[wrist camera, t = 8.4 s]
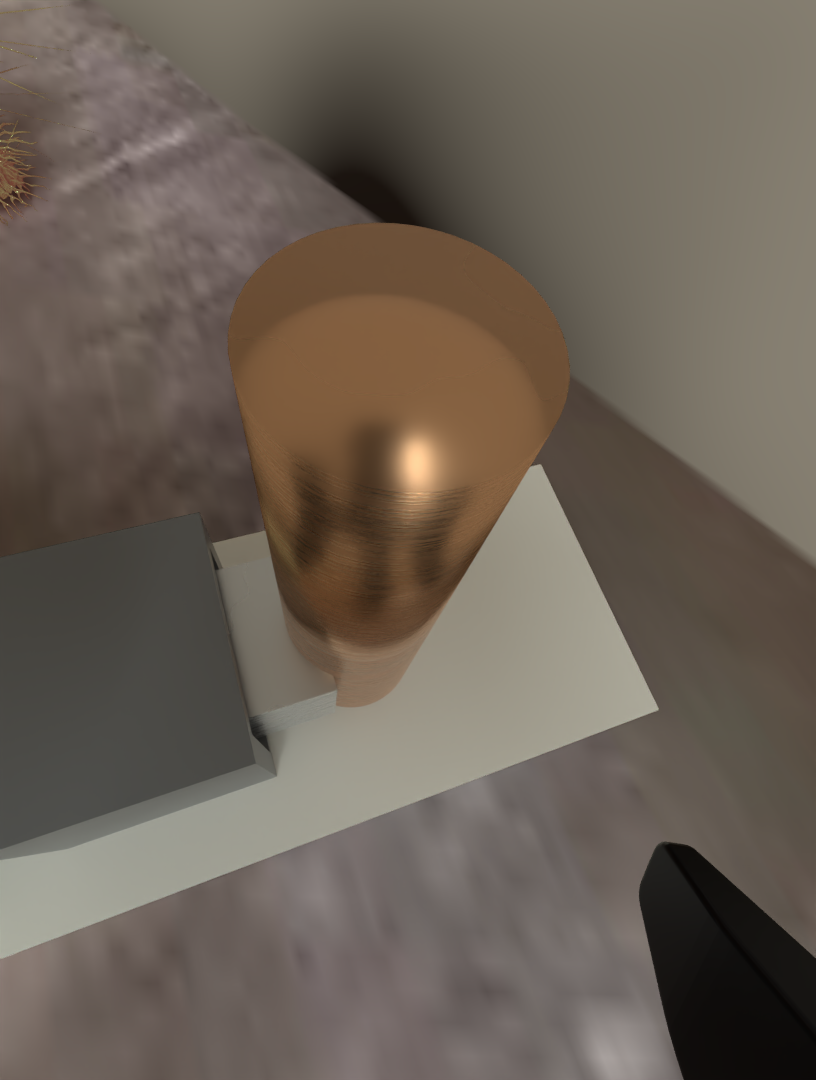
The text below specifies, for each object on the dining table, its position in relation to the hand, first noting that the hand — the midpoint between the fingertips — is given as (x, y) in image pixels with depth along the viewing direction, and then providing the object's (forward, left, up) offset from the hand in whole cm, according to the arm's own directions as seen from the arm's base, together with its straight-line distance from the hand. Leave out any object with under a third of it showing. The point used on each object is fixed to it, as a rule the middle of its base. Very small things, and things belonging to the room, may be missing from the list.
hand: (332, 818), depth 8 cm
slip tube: (-2, +6, -8) cm, 10 cm away
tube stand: (0, +5, -10) cm, 11 cm away
